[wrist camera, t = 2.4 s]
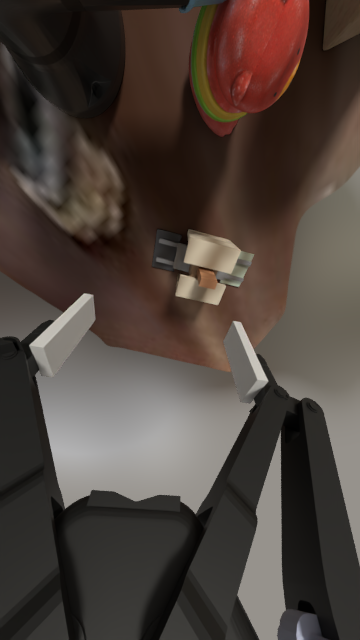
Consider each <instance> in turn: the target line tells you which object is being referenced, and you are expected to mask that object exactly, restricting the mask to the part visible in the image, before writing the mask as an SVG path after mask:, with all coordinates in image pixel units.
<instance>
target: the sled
mask: <svg viewBox="0 0 360 640" xmlns="http://www.w3.org/2000/svg"><path fill="white" fill-rule="evenodd" d="M186 250H187V245H184V244H181V243H178V246H177V251H176V256H175V260H174V265H173V269H177V270H182V271H186V272H189V276H190V277H195V278H198V284H199V286H201V287H205V288H210V289H214V290H215V288H216V285H217V283H218V281H217V279H219V280H223V281H224V278H225V276H226V274H227V273H225V272H221V271H217V270H213V269H209V268H205V267H201V266H197V265H192V264H188V263H184V258H185V254H186Z"/></svg>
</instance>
